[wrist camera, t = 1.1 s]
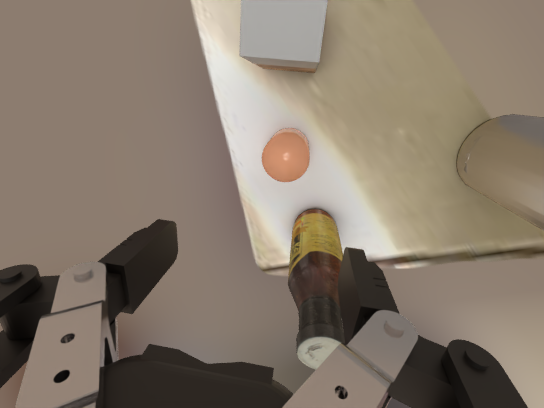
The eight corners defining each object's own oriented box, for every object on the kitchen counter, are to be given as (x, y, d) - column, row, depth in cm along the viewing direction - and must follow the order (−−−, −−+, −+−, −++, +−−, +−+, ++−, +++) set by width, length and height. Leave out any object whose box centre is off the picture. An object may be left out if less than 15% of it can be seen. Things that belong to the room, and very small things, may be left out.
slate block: (327, -10, 22) (333, -43, 17) (316, 68, 25) (319, 62, 19) (258, -14, 23) (242, -48, 17) (254, 63, 25) (239, 55, 20)
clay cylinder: (311, 130, 33) (312, 137, 27) (306, 170, 35) (305, 184, 29) (270, 126, 33) (263, 132, 28) (267, 165, 35) (260, 179, 30)
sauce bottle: (291, 208, 37) (275, 318, 19) (335, 205, 36) (364, 319, 18) (295, 247, 40) (285, 377, 22) (337, 245, 39) (363, 381, 21)
